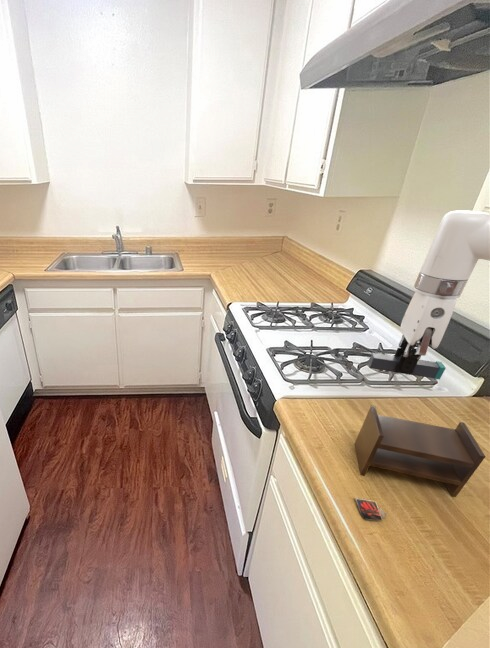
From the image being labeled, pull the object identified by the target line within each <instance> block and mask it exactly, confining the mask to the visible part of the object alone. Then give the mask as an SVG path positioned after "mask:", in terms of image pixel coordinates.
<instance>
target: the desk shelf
mask: <svg viewBox="0 0 490 648" xmlns="http://www.w3.org/2000/svg"><path fill="white" fill-rule="evenodd" d="M354 448H355V454H356V458H357V459H356V460H357V463H358V470H359V474H360V476H362V477H363V476H364V477H365V476H366V474H367V472H368V471H369V468H370V466H371V467H376V468H380V469H383V470H387V471H394V472H398V473H402V474H405V475H406V474H407V475H411V476H414V477H419V478H424V479H429V480H433V481H437V482H442V483H445V485H446V488H447V490H448V493H449V495H450V497H453V498H457V496H458V495H459V494H460V492H461V491H462V489H463V488H464V487H465V485H466V484H467V483H468V481H469V480H470V479H471V478H472V476H473V474H474V473H475V472H476V471H477V469H478V468H479V466H480V465H481V464H482V462H483V461H484V460H485V458H486V455H485V453H484V452H483V450H482V448H481V447H480V445H479V444H478V442H477V441H476V438H475V437H474V436H473V434H472V432H471V431H470V429H469V428H468V427H467V424H466V423H465V422H463V421H459V423H458V424H457V426H456V428H450V427H446V426H445V427H444V426H439V425H433V424H428V423H425V422H424V423H423V422H420V421H419V422H418V421H413V420H407V419H402V418H397V417H392V416H386V415H381V414H378V411H377V408H376V406H375V405H370V407H369V410H368V412H367V414H366V417H365V419H364V421H363V423H362V426H361V428H360V430H359V433H358V434H357V437H356V440H355V441H354Z"/></svg>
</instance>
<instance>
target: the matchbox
mask: <svg viewBox="0 0 490 648" xmlns="http://www.w3.org/2000/svg"><path fill="white" fill-rule="evenodd" d="M353 500H355V502H356V505H357V507H358V508H357V510H358V511H359V513H360V514H361V516H362V518H363V519H364V520H369V521H374V522H378V521H379V522H381V521H383V519H385V518H387V513H386V512H385V511H384V510H383V509H382V507H381V506H380V507H379V506H378V502H377V501H376V500H370V499H365V498H359V497H354V498H353Z"/></svg>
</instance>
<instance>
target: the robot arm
mask: <svg viewBox="0 0 490 648" xmlns="http://www.w3.org/2000/svg"><path fill="white" fill-rule="evenodd" d="M479 260H484V261H489V262H490V213H489V212H485V211H477V210H451V211H449V212H447V213H445V215H444V216H443V217H442V218H441V220H440V223H439V224H438V227H437V229H436V232H435V234H434V237H433V239H432V241H431V244H430V246H429V249H428V251H427V254H426V256H425V258H424V261H423V263H422V266H421V269H420V270H419V272H418V275H417V277H416V280H415V282H414V285H413V287H412V290H413V292H414V294H413V296H412V297H411V300H410V302H409V304H408V306H407V308H406V310H405V313H404V315H403V317H402V320H401V323H400V331H401V334H402V335H401V339H400V340H399V343H398V347H397V348H396V351H395V353H394V355H393V356H398V357H400V359H399V361H398V363H397V365H396V368H395V372H394V373H397V374H402V375H403V374H404V375H411V374H412V373H413V370H414V368H415V366H416V364H417V362H418V360H421V357H422V356H423V357H424V356H426V355H427V353H428V348H429V347H430V348H431V349H433V350H435V349H438V347H439V346H440V343H441V342H442V340H443V337H444V335H445V332H446V330H447V329H448V325H449V323H450V321H451V318H452V316H453V314H454V309H455V307H456V304H457V299H459V298H460V297H461V295H462V293H463V291H464V289H465V287H466V285H467V284H468V281H469V279H470V277H471V275H472V273H473V272H474V269H475V267H476V266H477V263H478V261H479ZM411 376H412V375H411Z"/></svg>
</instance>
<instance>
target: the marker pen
mask: <svg viewBox="0 0 490 648" xmlns="http://www.w3.org/2000/svg"><path fill="white" fill-rule="evenodd" d="M370 354H371V355H370V356H369V360H368V361H367V364H368V368H369V369H373V370H379V371H385V372H392V373H396V372H395V368H396V365H397V363H398V361H399V359H400V357H398V356H394V355H391V354H385V353H377V352H371V353H370ZM446 369H447V367H446V366H445V365H444V363H443V362H442V361H438V360H436V361H430V360H426V359H425V360H423V359H419V360H418V362H417V364H416V366H415V368H414V370H413V373H412V374H411V376H417V377H423V378H430V379H435V380H441V378H442V376H443V374H444V373H445V370H446Z"/></svg>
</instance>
